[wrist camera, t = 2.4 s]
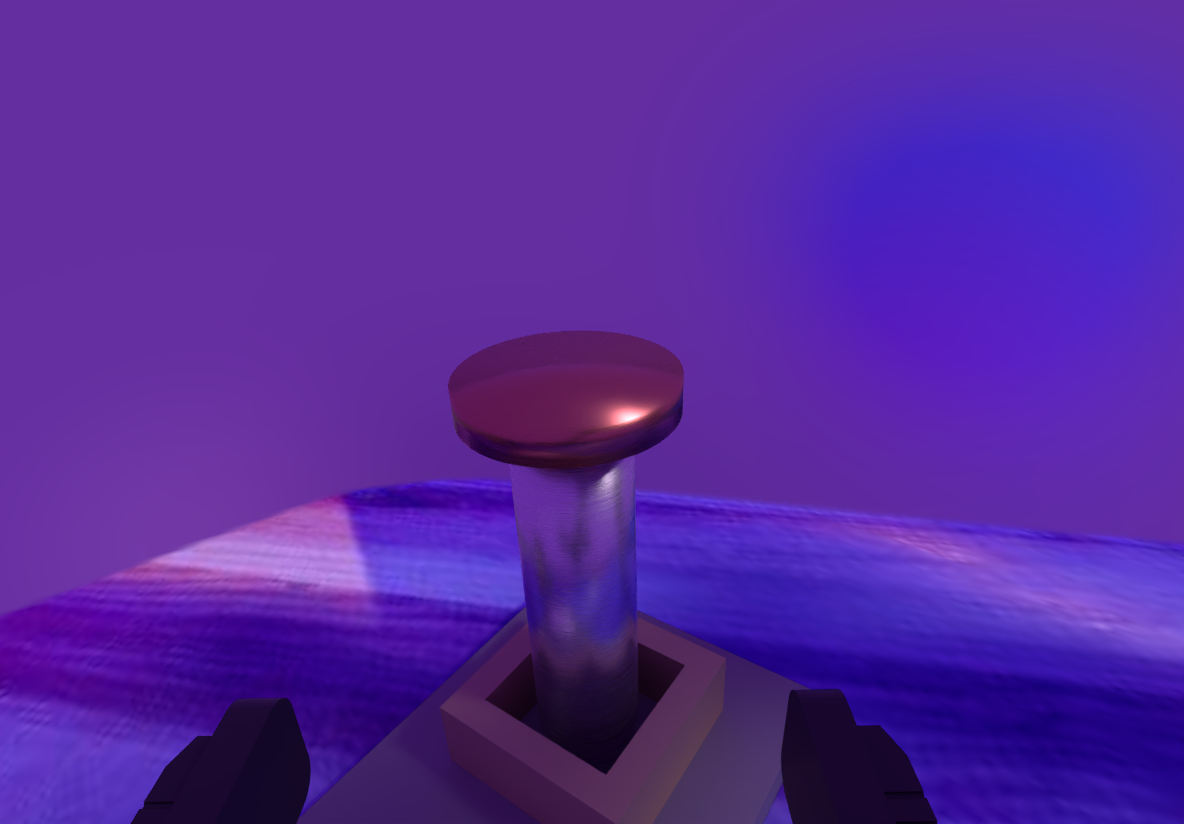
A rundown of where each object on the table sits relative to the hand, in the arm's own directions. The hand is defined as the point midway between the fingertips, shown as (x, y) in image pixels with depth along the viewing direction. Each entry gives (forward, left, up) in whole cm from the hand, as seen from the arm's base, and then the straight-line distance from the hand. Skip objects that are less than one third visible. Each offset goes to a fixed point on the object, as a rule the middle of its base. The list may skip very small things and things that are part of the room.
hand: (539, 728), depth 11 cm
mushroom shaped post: (-9, -6, -15) cm, 19 cm away
